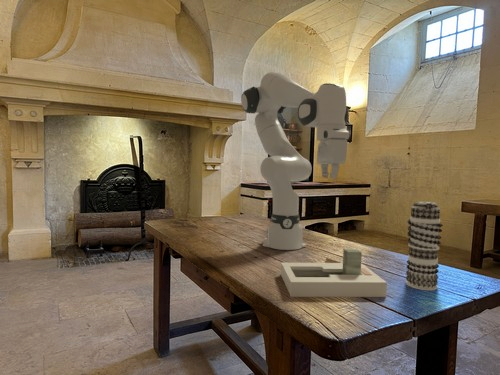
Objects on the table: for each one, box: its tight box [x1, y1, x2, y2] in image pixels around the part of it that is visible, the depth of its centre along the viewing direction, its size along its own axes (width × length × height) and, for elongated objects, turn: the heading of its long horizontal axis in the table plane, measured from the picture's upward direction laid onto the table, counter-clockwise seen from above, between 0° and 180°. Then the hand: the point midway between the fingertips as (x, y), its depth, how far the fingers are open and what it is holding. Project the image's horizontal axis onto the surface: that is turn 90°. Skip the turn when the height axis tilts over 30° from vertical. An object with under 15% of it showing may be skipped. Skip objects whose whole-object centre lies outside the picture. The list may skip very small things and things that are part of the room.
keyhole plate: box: [280, 262, 388, 298], centre depth 99 cm, size 18×26×4 cm
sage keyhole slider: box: [342, 248, 363, 275], centre depth 99 cm, size 8×8×10 cm
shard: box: [324, 257, 341, 263], centre depth 119 cm, size 11×8×2 cm
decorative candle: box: [405, 201, 444, 292], centre depth 100 cm, size 9×9×25 cm
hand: (329, 178), depth 108 cm, fingers open, 8 cm apart
